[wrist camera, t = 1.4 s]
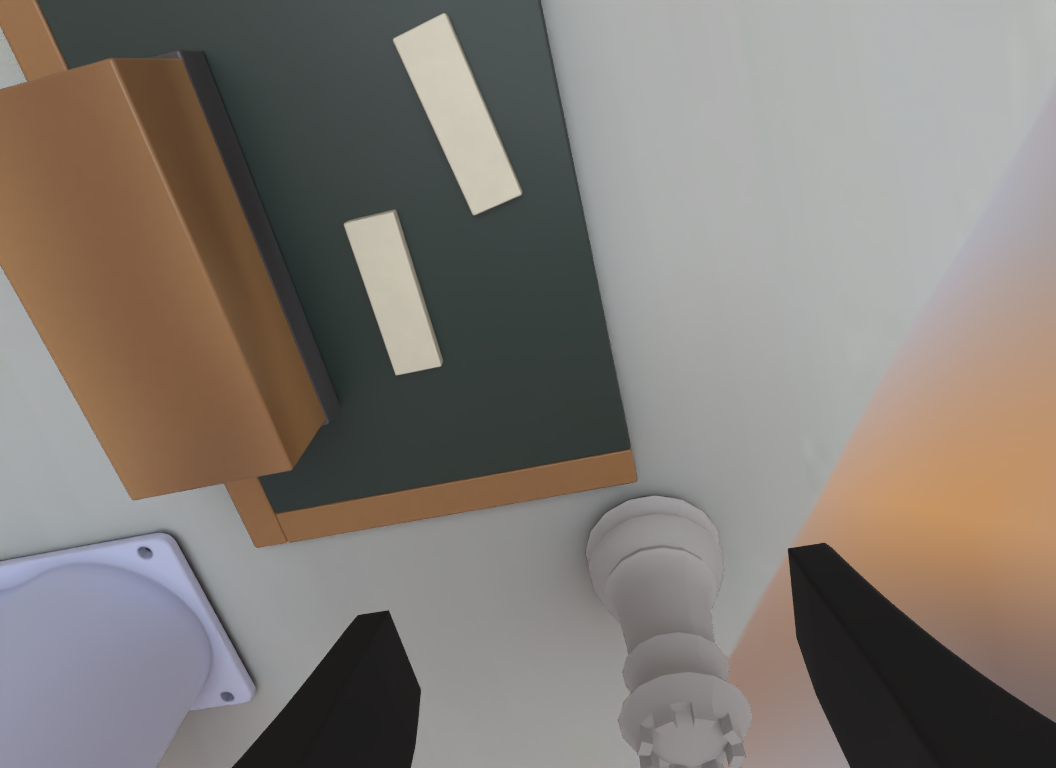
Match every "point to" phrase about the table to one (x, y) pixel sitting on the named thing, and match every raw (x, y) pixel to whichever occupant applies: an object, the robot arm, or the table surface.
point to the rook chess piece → (669, 633)
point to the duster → (157, 273)
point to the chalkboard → (432, 238)
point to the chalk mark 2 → (458, 113)
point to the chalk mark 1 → (394, 291)
